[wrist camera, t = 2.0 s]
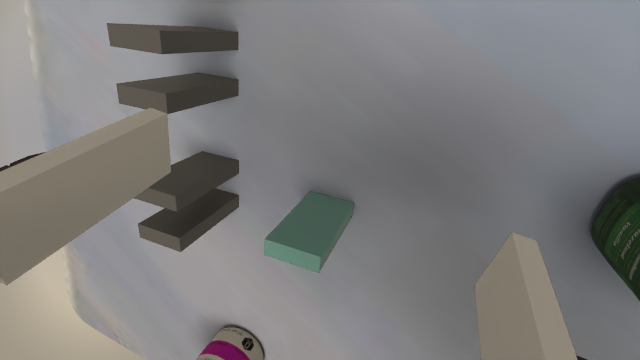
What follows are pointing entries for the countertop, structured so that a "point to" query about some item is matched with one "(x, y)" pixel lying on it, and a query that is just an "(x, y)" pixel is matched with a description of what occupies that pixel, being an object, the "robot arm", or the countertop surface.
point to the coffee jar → (621, 233)
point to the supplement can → (232, 346)
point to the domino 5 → (309, 231)
